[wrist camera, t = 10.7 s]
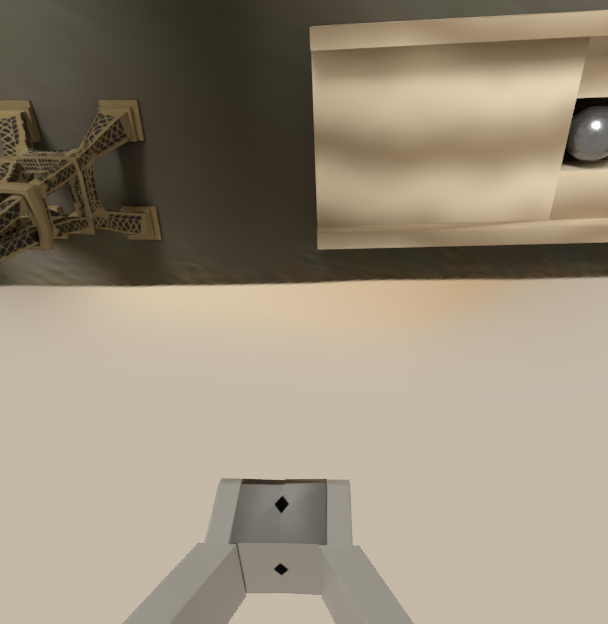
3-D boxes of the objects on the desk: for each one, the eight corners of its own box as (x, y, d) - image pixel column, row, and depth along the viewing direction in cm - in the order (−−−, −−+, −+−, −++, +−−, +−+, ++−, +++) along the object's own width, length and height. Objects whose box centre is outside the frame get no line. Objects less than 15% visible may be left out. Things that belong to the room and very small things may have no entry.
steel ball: (589, 100, 34) (557, 108, 32) (642, 103, 31) (609, 112, 30) (579, 151, 35) (548, 161, 34) (628, 159, 33) (597, 170, 31)
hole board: (311, 25, 31) (308, 27, 27) (716, 3, 30) (788, 1, 25) (318, 228, 39) (316, 258, 34) (644, 219, 37) (689, 249, 32)
